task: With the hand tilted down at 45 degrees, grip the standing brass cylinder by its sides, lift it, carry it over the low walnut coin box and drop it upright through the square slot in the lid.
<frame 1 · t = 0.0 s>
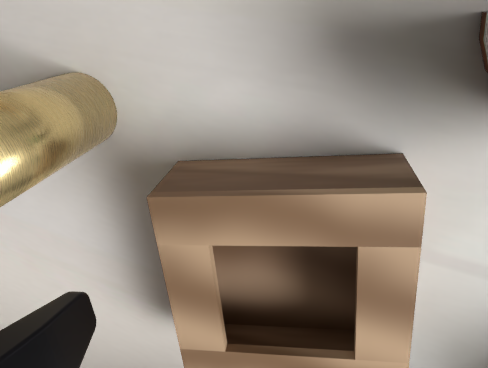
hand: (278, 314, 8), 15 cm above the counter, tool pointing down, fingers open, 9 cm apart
brass cylinder: (82, 109, 23), on the counter
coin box: (289, 251, 25), on the counter
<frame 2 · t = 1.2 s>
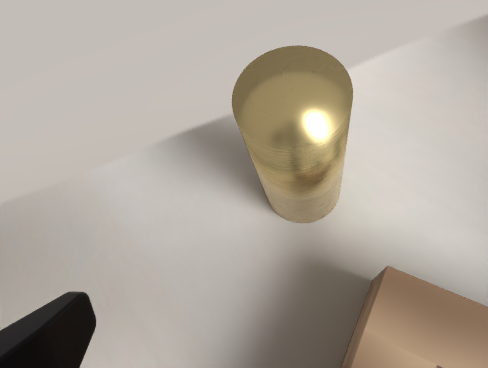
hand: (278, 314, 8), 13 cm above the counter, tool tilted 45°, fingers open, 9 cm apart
brass cylinder: (302, 187, 23), on the counter
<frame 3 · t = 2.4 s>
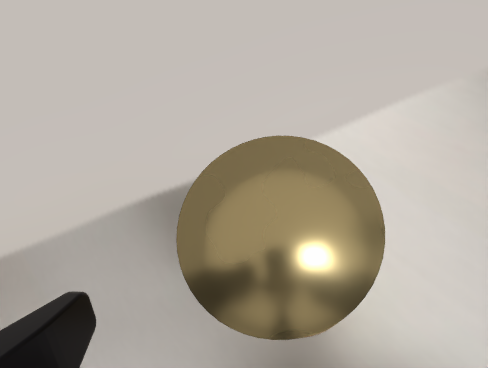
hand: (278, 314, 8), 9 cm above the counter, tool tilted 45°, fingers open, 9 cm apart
brass cylinder: (299, 284, 17), on the counter
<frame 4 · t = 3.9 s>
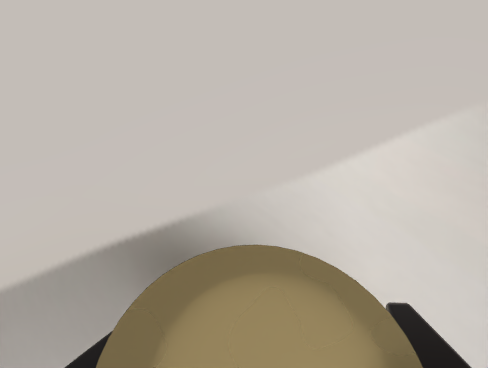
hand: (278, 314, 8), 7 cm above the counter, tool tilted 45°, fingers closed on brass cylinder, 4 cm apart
brass cylinder: (296, 361, 14), on the counter, touching gripper
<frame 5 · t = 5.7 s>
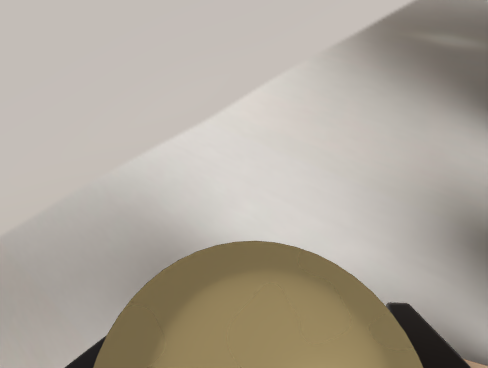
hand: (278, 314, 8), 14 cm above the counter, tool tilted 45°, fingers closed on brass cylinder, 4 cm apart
brass cylinder: (295, 360, 14), point 7 cm above the counter, touching gripper
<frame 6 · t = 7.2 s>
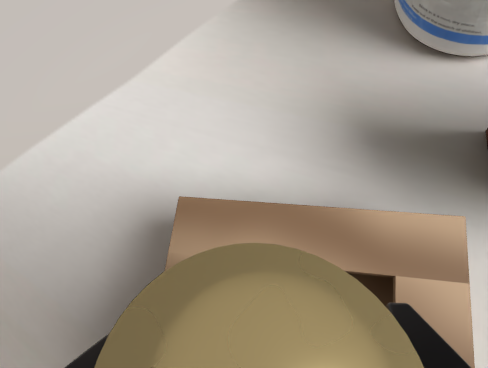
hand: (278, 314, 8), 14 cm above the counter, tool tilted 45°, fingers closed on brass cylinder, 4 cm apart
brass cylinder: (296, 361, 14), point 7 cm above the counter, touching gripper
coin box: (304, 351, 20), on the counter
supplement tub: (464, 5, 26), on the counter
when the fingers open (13 cm above the counter, at t = 7.9 s): brass cylinder drops 6 cm, resting on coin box.
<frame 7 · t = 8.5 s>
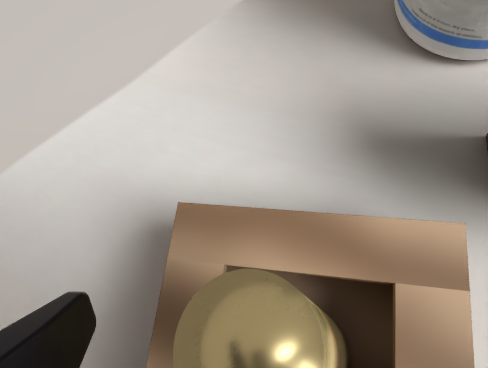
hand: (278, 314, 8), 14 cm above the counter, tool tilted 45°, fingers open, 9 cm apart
brass cylinder: (305, 353, 19), point 1 cm above the counter, tilted 8°, touching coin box
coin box: (303, 357, 20), on the counter
supplement tub: (464, 9, 26), on the counter
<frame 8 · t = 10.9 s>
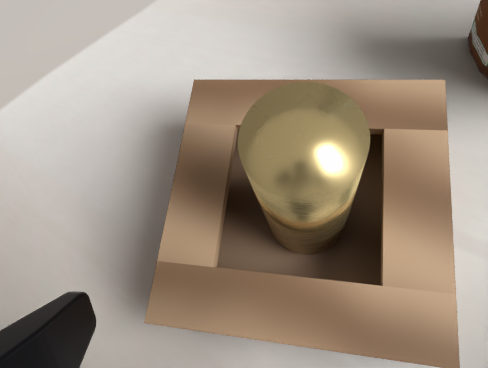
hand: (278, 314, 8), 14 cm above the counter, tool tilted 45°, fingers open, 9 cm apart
brass cylinder: (306, 216, 22), point 1 cm above the counter, touching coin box
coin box: (304, 223, 23), on the counter
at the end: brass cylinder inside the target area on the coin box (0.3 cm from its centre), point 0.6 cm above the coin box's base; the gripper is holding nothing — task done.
